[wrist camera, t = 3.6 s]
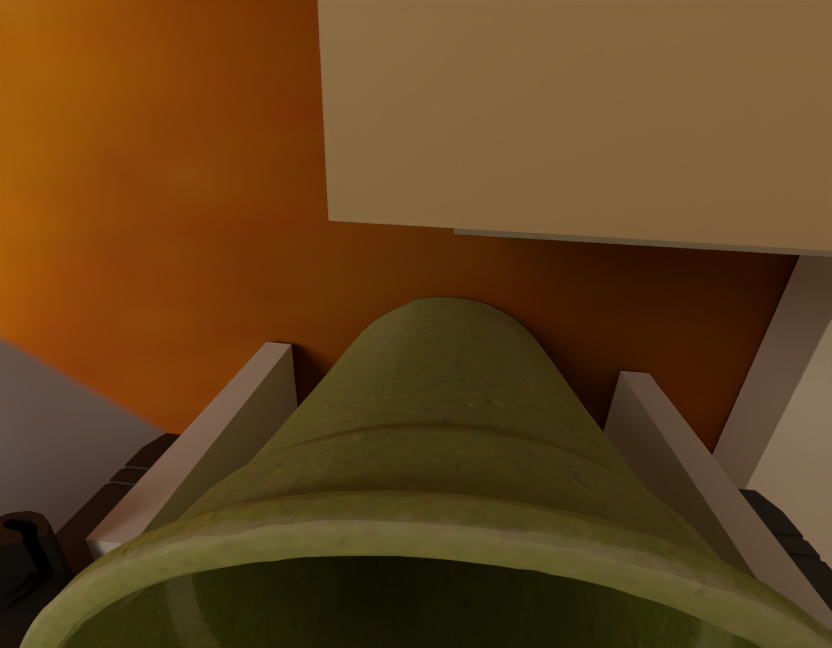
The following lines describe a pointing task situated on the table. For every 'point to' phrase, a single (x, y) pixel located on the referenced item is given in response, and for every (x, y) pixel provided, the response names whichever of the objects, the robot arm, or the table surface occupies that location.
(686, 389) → the table surface
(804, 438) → the shelf board
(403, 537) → the plant pot
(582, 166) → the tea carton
